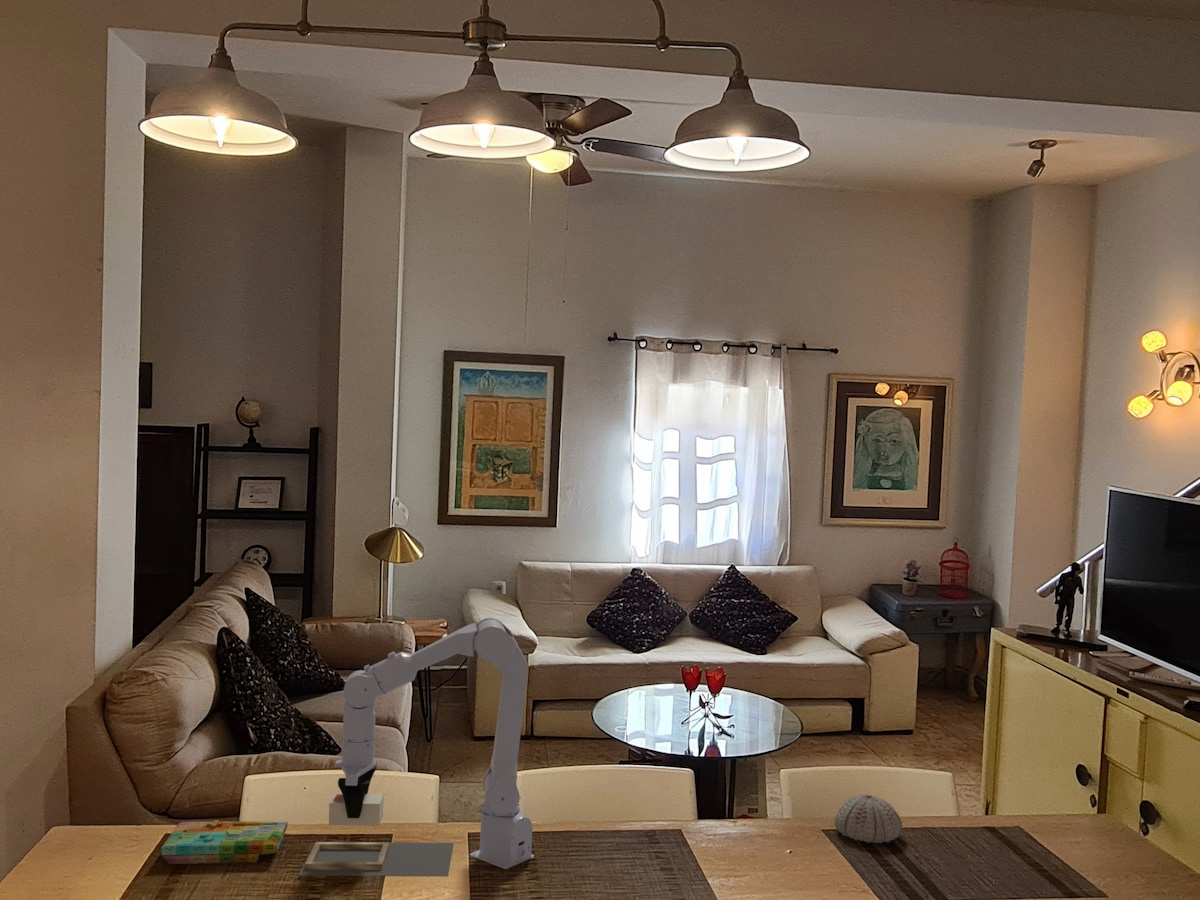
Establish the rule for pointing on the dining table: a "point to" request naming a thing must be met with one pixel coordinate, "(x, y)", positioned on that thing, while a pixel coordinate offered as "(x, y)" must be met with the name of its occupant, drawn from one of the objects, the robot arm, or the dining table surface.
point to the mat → (390, 860)
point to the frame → (377, 865)
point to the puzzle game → (222, 841)
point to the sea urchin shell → (868, 819)
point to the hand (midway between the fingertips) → (356, 812)
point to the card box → (369, 813)
